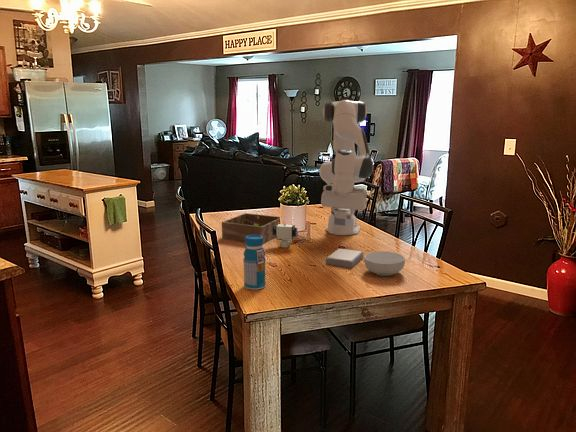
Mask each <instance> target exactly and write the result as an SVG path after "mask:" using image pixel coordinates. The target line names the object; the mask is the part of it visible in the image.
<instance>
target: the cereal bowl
mask: <svg viewBox="0 0 576 432" xmlns="http://www.w3.org/2000/svg"><path fill="white" fill-rule="evenodd" d="M363 258H364V259H363V260H364V266H365V267H366V269H368V271H369V272H372V273H374V274H376V275H378V276H380V277H389V276H393V275H394V274H397V273H399V272H401V271H402V270H403V269H404V268H405V264H406V263H405V262H406V258H405V256H404V255H403V254H401V253H397V252H395V251H394V252H392V251H387V250H383V251H382V250H380V251H371V252H368V253H366V254H365V255H363Z"/></svg>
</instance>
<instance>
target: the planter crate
mask: <svg viewBox="0 0 576 432" xmlns="http://www.w3.org/2000/svg"><path fill="white" fill-rule="evenodd" d="M255 216H258V217H259V219H256V218H255V219H254V223H255V224H257V225H258V224H259V226H252V225H249V223H248V222H247V221H245V222H244V224H242V221H244V220H248V221H250V222H251V223H252V220H253V218H254V217H255ZM280 217H281V216H276V215H275V216H274V215H266V214H257V213H247V212H244V213H241V214H239V215H237V216H234V217H232V218H229V219H227V220H224V221H222V222H221V237H222V240H228V241H235V242H242V243H245V237H246V236H248V235H261V236H262V237H263V245H264V244H266V243H267V242H270V241H271V240H273V239H276V238H275V235H273V227H275V226H276V225H277V224H278V222H280ZM260 226H261V227H260Z"/></svg>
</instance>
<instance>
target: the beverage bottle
mask: <svg viewBox="0 0 576 432" xmlns="http://www.w3.org/2000/svg"><path fill="white" fill-rule="evenodd" d="M244 244H245V246H246V247H245V249H244V252H243V256H244V258H243V260H242V261H243V278H244V280H243V281H244V282H243V283H244V288H246V289H247V290H251V291H258V290H262V289H263V288H265V287H266V257H265V256H266V251H265V249H264V247H263V245H264V244H263V237H262V236H261V235H248V236H246V237H245V242H244Z"/></svg>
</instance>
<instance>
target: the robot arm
mask: <svg viewBox="0 0 576 432" xmlns="http://www.w3.org/2000/svg"><path fill="white" fill-rule="evenodd" d="M366 105H367V104H366V103H365V102H364V101H360V100H358V101H356V100H355V101H354V100H349V99H341V100H339V101H327V102H326V103H325V104H324V106H323V109H322V116H323V118H324V121H325V122H327V123H330V124H333V142H332V143H333V145H332V146H333V151H334V153H335V157H334V158H333V159H332V160H331V161H325V162H323V163H322V164H321V165H320V167H319V171H318V172H319V176H320V179H322V180H323V181H324V182H325V183H326V184H325V185H324V186H322V187H323V191H322V193H321V200H320V204H321V206H322V207H325V208H331V209H330V211H331V212H330V214H329V216H328V220H327V221H328V222H327V227H326V228H325V231H326V232H328V233H329V234H331V235H335V236H349V235H358V234H359V233H360V231H361V228H362V227H361V226H360V225H358V224H357V223H358V220H357V219H358V218H357V217H356V216H355V214H354V213H355V212H356V210H357V211H364V210H365V209H367V195H368V193H367V191H366V190H365V188H357V187H355V183H356V184H357V183H362V182H364V181H365V180H366V179H368V178H369V177H370V176H372V175H373V172H374V163H373V159H372V157H371V153H370V149H369V145H368V139H367V137H366V136H367V135H366V132H365V131H364V129H363V128H362V127H360V126H359V124H360V123H363V122H364V121H365V120H366V117H367V116H368V115H367V114H368V108H367V106H366ZM355 144H356V145H357V146H358V147H357V148H358V150H359V155H357V153H356V147H355V146H356V145H355ZM340 208H344V209H350V211H351V214H349V215H348V219H351V222H350V223H349V224H347V225H345V226H343V225H334V217H335V211H336V210H338V209H340Z"/></svg>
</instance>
